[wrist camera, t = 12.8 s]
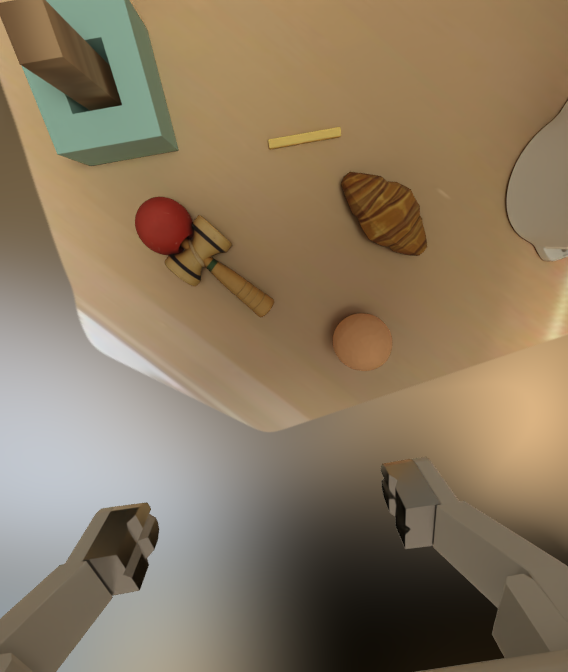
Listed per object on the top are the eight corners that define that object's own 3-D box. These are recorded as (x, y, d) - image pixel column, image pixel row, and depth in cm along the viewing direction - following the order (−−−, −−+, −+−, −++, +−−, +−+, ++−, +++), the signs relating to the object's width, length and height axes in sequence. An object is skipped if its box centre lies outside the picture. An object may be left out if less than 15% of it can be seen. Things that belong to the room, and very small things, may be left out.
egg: (383, 309, 38) (413, 330, 30) (370, 355, 40) (395, 386, 32) (333, 303, 37) (350, 323, 29) (323, 351, 40) (336, 381, 32)
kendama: (287, 276, 37) (168, 173, 29) (289, 297, 32) (145, 178, 24) (251, 313, 40) (136, 227, 33) (248, 337, 35) (110, 242, 27)
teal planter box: (147, 29, 26) (120, -15, 21) (178, 150, 30) (161, 135, 25) (46, 48, 26) (-2, 8, 21) (90, 166, 30) (57, 154, 25)
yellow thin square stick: (339, 128, 30) (340, 126, 29) (339, 137, 30) (341, 135, 29) (268, 140, 30) (268, 139, 29) (269, 149, 30) (269, 148, 30)
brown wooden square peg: (126, 82, 27) (40, -5, 17) (137, 118, 28) (62, 56, 18) (97, 87, 27) (-5, 3, 17) (109, 123, 28) (20, 64, 18)
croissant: (437, 228, 34) (463, 228, 30) (398, 271, 36) (417, 277, 31) (362, 150, 31) (378, 136, 26) (323, 202, 32) (332, 198, 28)
